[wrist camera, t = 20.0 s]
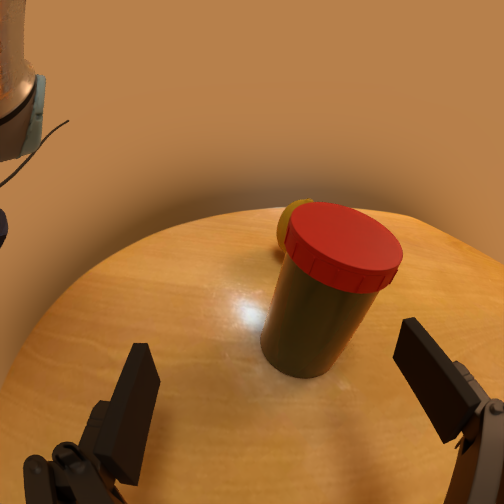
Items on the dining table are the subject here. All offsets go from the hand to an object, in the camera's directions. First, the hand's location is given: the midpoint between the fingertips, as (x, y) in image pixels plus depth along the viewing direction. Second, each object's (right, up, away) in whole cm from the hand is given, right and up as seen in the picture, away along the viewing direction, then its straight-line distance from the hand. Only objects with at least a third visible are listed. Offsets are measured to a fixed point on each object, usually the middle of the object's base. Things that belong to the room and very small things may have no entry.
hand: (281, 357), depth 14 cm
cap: (+5, +6, +5) cm, 9 cm away
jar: (+3, -3, +11) cm, 12 cm away
